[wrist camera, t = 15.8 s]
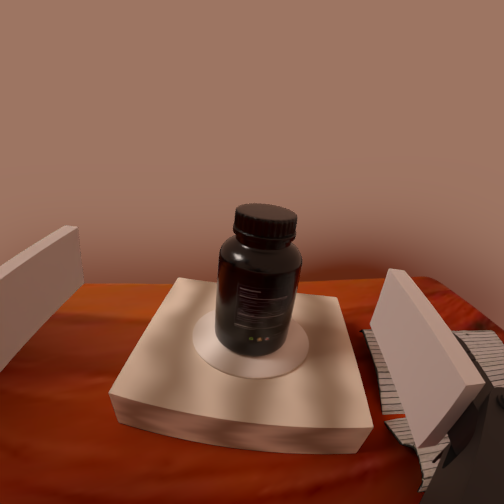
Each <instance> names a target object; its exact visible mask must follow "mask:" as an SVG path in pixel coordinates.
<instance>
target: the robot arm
mask: <svg viewBox="0 0 504 504" xmlns="http://www.w3.org/2000/svg"><path fill="white" fill-rule="evenodd" d="M83 284H84V276H83V269H82V262H81V252H80V243H79V230H78V227H74V226H66V225H65V226H64V227H62V228H60V229H58V230H57V231H55V232H53V233H51V234H50V235H48V236H46V237H45V238H43V239H42V240H40V241H38V242H37V243H35V244H33V245H32V246H31V247H29V248H27V249H26V250H24V251H22V252H21V253H19V254H18V255H16V256H15V257H13V258H12V259H10V260H9V261H7V262H6V263H4V264H3V265H1V266H0V372H1V371H2V370H3V369H4V367H5V366H6V365H7V364H8V363H9V362H10V360H11V359H12V358H13V357H14V356H15V355H16V354H17V352H18V351H19V350H20V349H21V348H22V347H23V346H24V345H25V343H26V342H27V341H28V340H29V339H30V338H31V337H32V336H33V335H34V334H35V333H36V332H37V330H38V329H39V328H40V327H41V326H42V325H43V324H44V323H45V322H46V321H47V320H48V319H49V318H50V317H51V316H52V315H53V314H54V313H55V312H56V311H57V310H58V309H59V308H60V307H61V306H62V305H63V304H64V303H65V302H66V301H67V300H68V299H69V298H70V297H71V296H72V295H73V294H74V293H75V292H76V291H77V290H78V289H79V288H80V287H81V286H82V285H83ZM370 326H371V328H372V331H373V333H374V335H375V338H376V340H377V342H378V345H379V347H380V350H381V352H382V355H383V357H384V359H385V362H386V364H387V367H388V370H389V372H390V375H391V377H392V380H393V382H394V385H395V388H396V390H397V393H398V396H399V398H400V401H401V404H402V407H403V409H404V412H405V415H406V418H407V421H408V424H409V427H410V429H411V432H412V435H413V438H414V441H415V445H416V448H417V449H420V448H426V447H432V446H437V445H438V443H439V442H440V441H441V440H442V439H443V438H444V437H445V435H446V434H447V435H448V437H449V440H450V442H449V444H448V445H447V446H446V447H445V448H444V449H443V450H442V451H441V452H440V453H439V454H438V455H437V456H436V457H435V458H434V460H433V461H432V463H435V462H436V461H437V460H438V459H440V458H441V459H440V461H439V463H438V466H437V468H436V470H435V472H434V475H433V477H432V479H431V481H430V483H429V485H428V487H427V489H426V491H425V493H424V495H423V497H422V499H421V501H420V503H419V504H504V387H494V386H493V384H492V383H491V381H490V379H489V378H488V376H487V375H486V373H485V372H484V370H483V369H482V367H481V366H480V364H479V363H478V361H476V358H475V357H474V355H473V354H472V353H471V351H470V349H469V348H468V347H467V345H466V344H465V342H464V341H463V340H462V339H460V338H459V337H458V336H457V335H456V334H454V333H452V332H451V330H450V329H449V328H448V326H447V325H446V323H445V322H444V321H443V319H442V318H441V317H440V315H439V314H438V313H437V311H436V310H435V309H434V307H433V306H432V305H431V303H430V302H429V301H428V299H427V298H426V297H425V295H424V294H423V293H422V292H421V290H420V289H419V288H418V287H417V285H416V284H415V283H414V282H413V280H412V279H411V278H410V277H409V275H408V274H407V273H406V272H405V271H404V270H397V269H389V270H388V273H387V276H386V279H385V282H384V285H383V288H382V291H381V294H380V297H379V300H378V303H377V306H376V309H375V311H374V314H373V317H372V320H371V322H370Z"/></svg>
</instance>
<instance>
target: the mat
mask: <svg viewBox="0 0 504 504" xmlns="http://www.w3.org/2000/svg"><path fill="white" fill-rule="evenodd" d="M359 332H363V335H364V338H365V341H366V344H367V347H368V349H369V350H370V354H371V357H372V360H373V364H374V367H375V371H376V375H377V380H378V387H379V394H380V402H381V409H382V414H383V415H384V414H405V412H404V409H403V407H402V404H401V401H400V398H399V396H398V393H397V390H396V388H395V385H394V382H393V380H392V377H391V375H390V372H389V370H388V367H387V364H386V362H385V359H384V357H383V355H382V352H381V350H380V347H379V345H378V342H377V340H376V338H375V335H374V333H373V331H372V330H361V331H359ZM451 332H452V333H454V334H456V335H457V336H458V337H459V338H460V339H462V340H463V341H464V342H465V344H466V345H467V347H468V348H469V349H470V351H471V353H472V354H473V355H474V357H475V358H476V361H478V363H479V364H480V366H481V367H482V369H483V370H484V372H485V373H486V375H487V376H488V378H489V379H490V381H491V383H492V384H493V386H494V387H504V344H503V343H502V342H501V340H500V339H499V338H498V336H497V335H496V334H495V332H494V331H492V330H480V331H451ZM384 423H385V425H386V427H387V428H388V429H389V430H390V432H391V433H392V434H393V435H394V437H395V438H396V440H397V441H398V442H399V444H401V445H404V446H408V447H411V448H413V449H414V450H415V452H416V454H417V456H418V459H419V463H420V468H421V473H422V484H421V486H420V487H419V489H418V491H417V492H425V491H426V489H427V487H428V485H429V483H430V481H431V479H432V477H433V475H434V472H435V470H436V468H437V466H438V463H439V461H440V459H441V458H440V459H438V460H437V461H436V462H435V463H432V461H433V460H434V458H435V457H436V456H437V455H438V454H439V453H440V452H441V451H442V450H443V449H444V448H445V447H446V446H447V445H448V444H449V442H450V440H449V437H448V435H447V434H446V435H445V437H444V438H443V439H442V440H441V441H440V442H439V443H438V445H437V446H432V447H426V448H420V449H417V448H416V445H415V441H414V438H413V435H412V432H411V429H410V427H409V424H408V421H407V418H399V419H394V420H389V421H384Z"/></svg>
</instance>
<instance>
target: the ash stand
mask: <svg viewBox="0 0 504 504" xmlns="http://www.w3.org/2000/svg"><path fill="white" fill-rule="evenodd" d="M216 293H217V283H213V282H205V281H199V280H192V279H185V278H178V279H177V280H176V282H175V284H174V285H173V287H172V288H171V290H170V291H169V293H168V295H167V296H166V298H165V299H164V301H163V303H162V304H161V306H160V307H159V309H158V311H157V312H156V314H155V315H154V317H153V319H152V320H151V322H150V323H149V325H148V327H147V328H146V330H145V332H144V333H143V335H142V337H141V338H140V340H139V342H138V343H137V345H136V347H135V348H134V350H133V352H132V353H131V355H130V357H129V358H128V360H127V362H126V363H125V365H124V367H123V369H122V370H121V372H120V374H119V375H118V377H117V379H116V381H115V382H114V384H113V386H112V388H111V389H110V391H109V396H110V399H111V402H112V405H113V408H114V411H115V414H116V417H117V420H118V422H119V423H122V424H126V425H129V426H132V427H136V428H139V429H143V430H147V431H150V432H154V433H158V434H162V435H166V436H171V437H175V438H180V439H184V440H189V441H194V442H200V443H205V444H211V445H217V446H224V447H231V448H238V449H246V450H255V451H266V452H279V453H298V454H351V453H357V451H358V450H359V448H360V447H361V445H362V444H363V443H364V441H365V440H366V438H367V437H368V435H369V434H370V432H371V430H372V429H373V423H372V419H371V415H370V411H369V407H368V403H367V399H366V395H365V391H364V388H363V384H362V380H361V376H360V373H359V369H358V366H357V362H356V359H355V355H354V352H353V348H352V345H351V342H350V338H349V335H348V332H347V328H346V325H345V322H344V319H343V315H342V312H341V309H340V306H339V303H338V300H337V297H328V296H318V295H309V294H300V293H296V298H295V302H294V307H293V312H292V317H291V321H290V326H289V330H288V334H287V338H286V341H285V343H284V344H283V346H282V347H281V348H279V349H278V350H277V351H275V352H273V353H271V354H268V355H264V356H255V357H254V356H244V355H240V354H237V353H234V352H232V351H230V350H229V349H227V348H226V347H224V346H223V345H222V344H221V343H220V341H219V340H218V338H217V337H216V334H215V309H216Z"/></svg>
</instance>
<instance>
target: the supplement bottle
mask: <svg viewBox="0 0 504 504" xmlns="http://www.w3.org/2000/svg"><path fill="white" fill-rule="evenodd" d="M296 224H297V215H296V214H295V213H294V212H293V211H291V210H289V209H286V208H282V207H279V206H275V205H269V204H257V203H253V204H244V205H240V206H238V207H237V208H236V211H235V221H234V225H233V232H234V233H235V234H236V235H234V236H232V237H230V238H229V239H227V240H226V241H225V242H224V243H223V245H222V246H221V249H220V252H219V263H218V278H217V293H216V309H215V334H216V337H217V338H218V340H219V341H220V343H221V344H222V345H223V346H224V347H226V348H227V349H229V350H230V351H232V352H234V353H237V354H240V355H244V356H254V357H255V356H264V355H268V354H271V353H273V352H275V351H277V350H278V349H279V348H281V347H282V346H283V344H284V343H285V341H286V338H287V334H288V330H289V326H290V321H291V317H292V312H293V307H294V302H295V298H296V293H297V288H298V283H299V278H300V272H301V267H302V256H301V253H300V252H299V250H298V248H297V247H296V246H295V245H294V244H293V243H292V241H293V240H294V239H295V237H296Z"/></svg>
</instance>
